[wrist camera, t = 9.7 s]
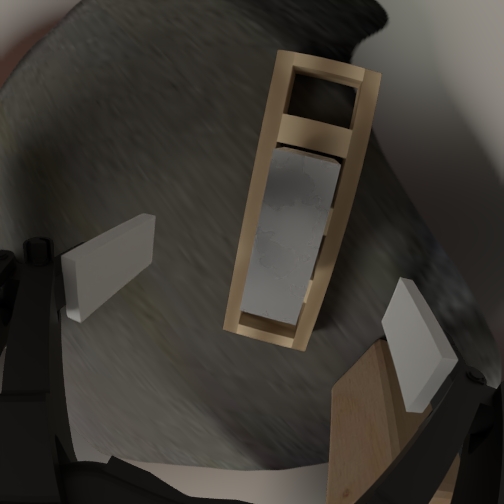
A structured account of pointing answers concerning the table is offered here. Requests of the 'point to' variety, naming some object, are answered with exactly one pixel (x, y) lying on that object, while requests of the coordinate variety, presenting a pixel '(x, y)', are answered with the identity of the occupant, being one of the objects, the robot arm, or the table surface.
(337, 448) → the wooden block
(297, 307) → the grey concrete brick
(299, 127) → the rail
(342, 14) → the table surface
